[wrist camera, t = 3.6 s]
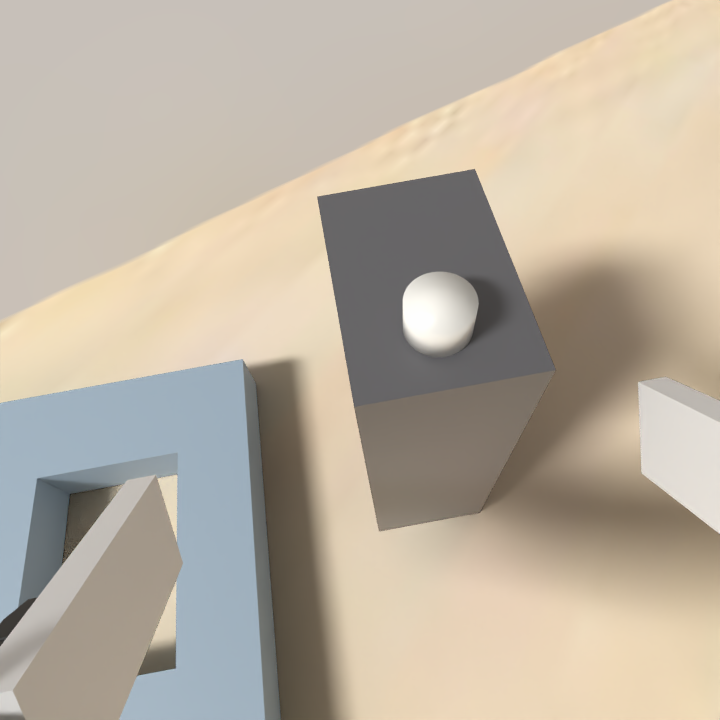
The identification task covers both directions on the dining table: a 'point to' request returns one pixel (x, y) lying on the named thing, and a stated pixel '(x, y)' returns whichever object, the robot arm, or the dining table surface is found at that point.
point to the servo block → (432, 342)
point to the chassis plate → (194, 522)
